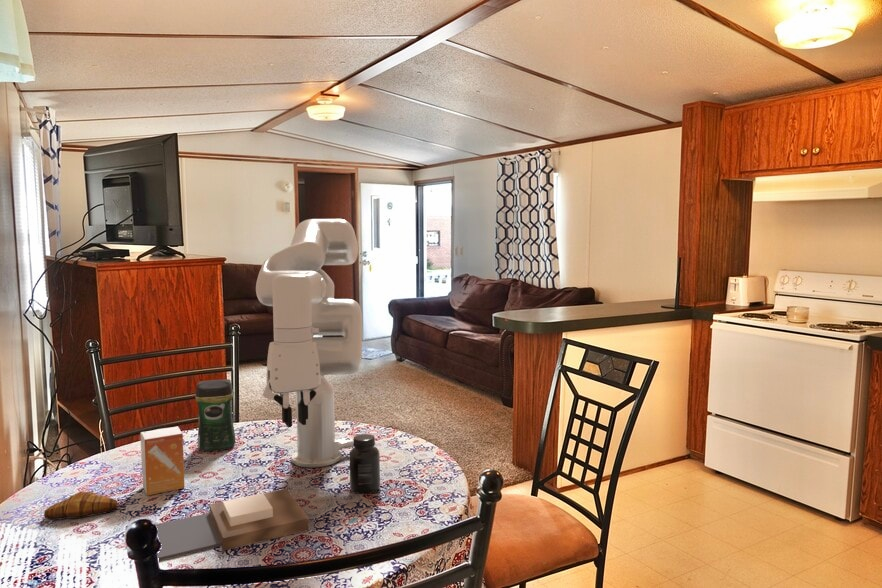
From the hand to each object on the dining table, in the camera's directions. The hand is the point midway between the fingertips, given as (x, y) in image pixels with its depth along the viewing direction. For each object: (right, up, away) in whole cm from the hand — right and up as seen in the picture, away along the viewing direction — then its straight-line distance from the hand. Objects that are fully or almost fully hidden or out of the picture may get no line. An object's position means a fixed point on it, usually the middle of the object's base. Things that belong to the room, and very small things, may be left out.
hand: (295, 423), depth 124 cm
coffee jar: (-31, -15, +41) cm, 54 cm away
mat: (-19, -20, -7) cm, 28 cm away
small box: (-34, -18, +15) cm, 41 cm away
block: (-9, -17, -3) cm, 20 cm away
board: (-7, -19, -2) cm, 21 cm away
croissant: (-45, -20, +2) cm, 49 cm away
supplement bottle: (+12, -18, +15) cm, 26 cm away
